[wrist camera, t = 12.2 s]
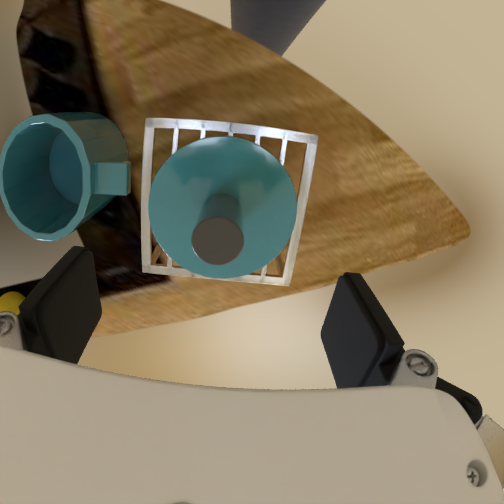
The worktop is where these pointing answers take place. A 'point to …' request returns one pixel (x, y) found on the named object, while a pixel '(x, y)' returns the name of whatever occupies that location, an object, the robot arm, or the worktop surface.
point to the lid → (222, 207)
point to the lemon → (11, 302)
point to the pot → (62, 171)
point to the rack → (231, 127)
